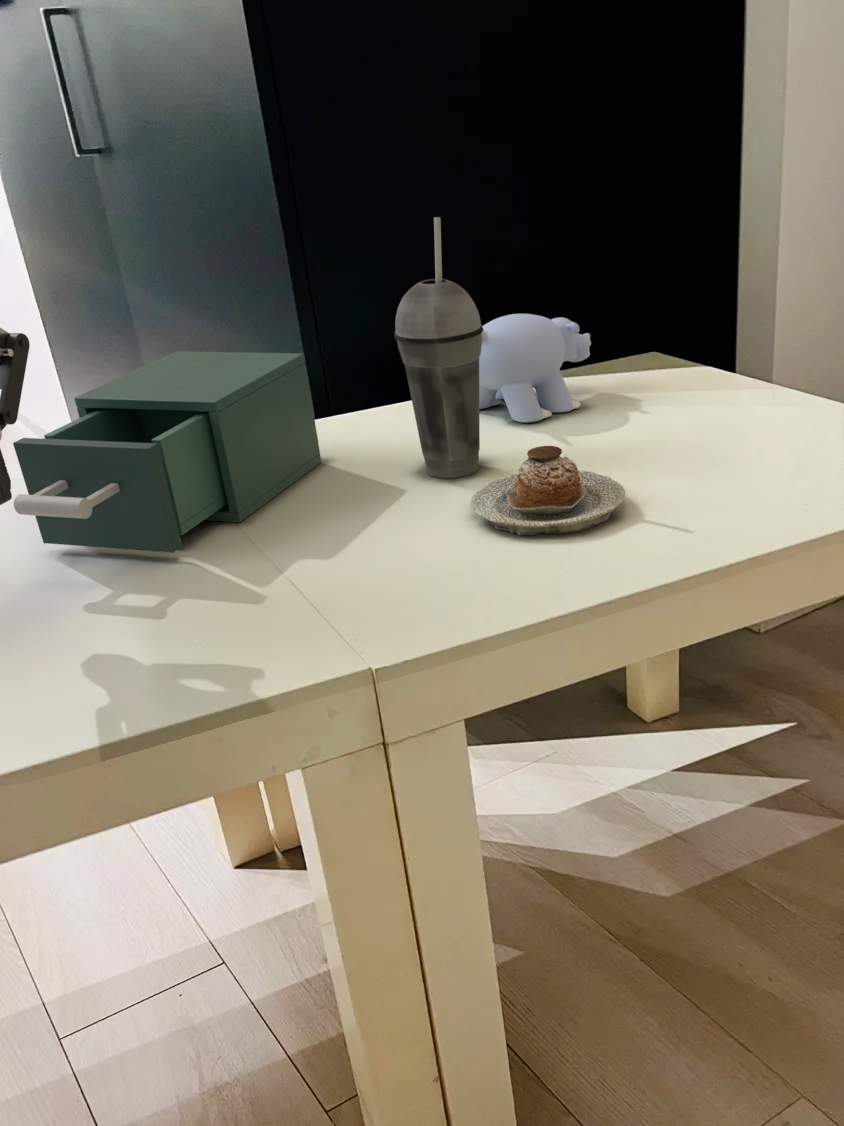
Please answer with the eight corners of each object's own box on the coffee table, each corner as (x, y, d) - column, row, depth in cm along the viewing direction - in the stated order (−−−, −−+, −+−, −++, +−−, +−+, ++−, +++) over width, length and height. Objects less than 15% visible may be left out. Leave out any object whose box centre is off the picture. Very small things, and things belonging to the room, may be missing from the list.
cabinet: (240, 522, 89) (215, 401, 84) (105, 514, 93) (73, 397, 88) (321, 462, 101) (304, 353, 96) (199, 456, 105) (176, 351, 100)
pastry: (640, 487, 91) (640, 430, 89) (602, 544, 81) (600, 483, 79) (501, 479, 94) (497, 425, 92) (449, 533, 85) (443, 474, 82)
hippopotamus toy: (621, 395, 114) (619, 296, 109) (511, 431, 106) (503, 326, 101) (548, 379, 121) (544, 285, 116) (439, 411, 113) (429, 312, 108)
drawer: (134, 580, 78) (106, 472, 74) (-1, 569, 81) (-35, 465, 77) (263, 488, 93) (245, 394, 89) (144, 482, 96) (122, 390, 92)
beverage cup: (393, 476, 97) (360, 225, 86) (446, 451, 102) (421, 210, 91) (459, 489, 93) (433, 228, 83) (511, 462, 98) (493, 213, 88)
